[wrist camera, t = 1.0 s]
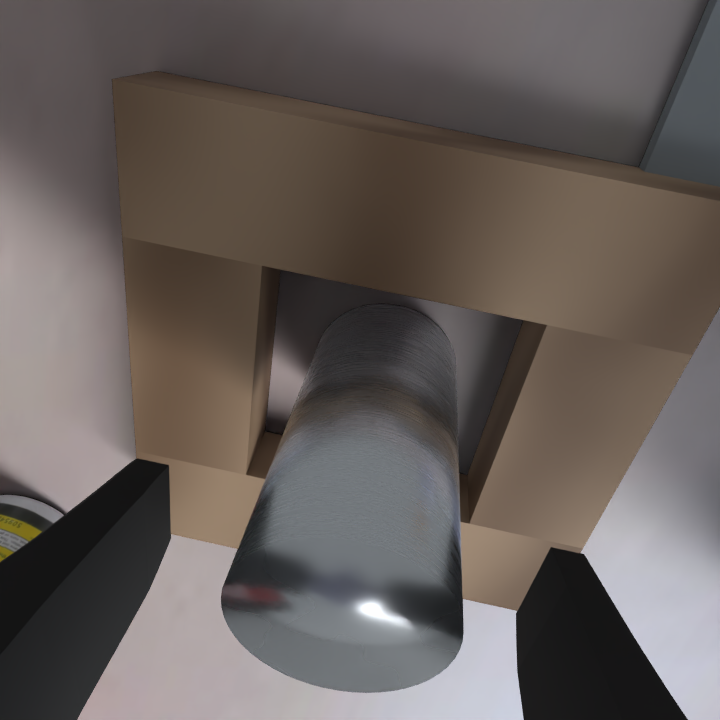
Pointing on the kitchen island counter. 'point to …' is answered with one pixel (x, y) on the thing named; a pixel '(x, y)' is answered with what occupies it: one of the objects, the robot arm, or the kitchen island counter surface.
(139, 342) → the pocket block
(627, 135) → the kitchen island counter surface
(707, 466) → the kitchen island counter surface
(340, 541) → the peg
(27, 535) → the supplement bottle
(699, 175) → the grey square plate
